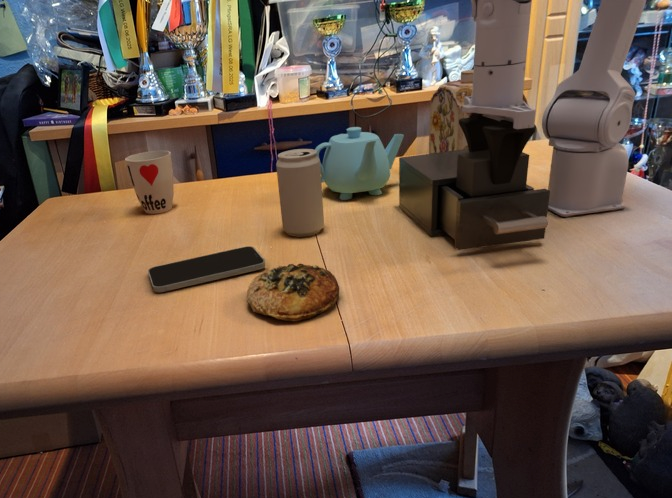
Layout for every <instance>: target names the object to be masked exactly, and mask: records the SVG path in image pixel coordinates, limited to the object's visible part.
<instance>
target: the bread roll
mask: <svg viewBox="0 0 672 498" xmlns="http://www.w3.org/2000/svg"><path fill="white" fill-rule="evenodd" d="M339 295H340V285H339V283H338V280H337V278H336V277H335V275H334V274H333V273H332V272H331V271H330V270H329V269H325V268H323V267H320V266H318V265H316V264H313V265H311V264H304V263H298V264H297V265H295V264H294V263H289V264H287V265H279V266H277V267H273V268H271V269H270V270H267V271H264V272H262V273H260V274H258V275H256V276H255V277H254V278H253V279H252V280H251V282H250V283H249V285H248V289H247V290H246V301H247V303H248V304H249V306H250V307H251V309H252V312H253V313H257V314H259V315H264V316H270V317H272V318H274V319H276V320H281V321H286V322H287V321H288V322H298V321H299V322H300V321H303V320H309V319H310V318H313V317H315V316H316V315H318V314H321V313H323V312H325V311H328V310H331V308H332V307H333V306H334V305H335V304H336V302H338V300H339Z"/></svg>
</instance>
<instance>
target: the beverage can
mask: <svg viewBox="0 0 672 498" xmlns="http://www.w3.org/2000/svg"><path fill="white" fill-rule="evenodd" d="M316 154H317V151H316V150H315V149H313V148H297V149H289V150H286V151H285V150H284V151H282V152H280V153H278V154H277V161H276V163H275V166H276V167H275V169H276V175H277V187H278V197H279V205H280V214H281V216H280V217H281V224H282V225H281V226H282V230H283V231H284V232H285V233H287V234H288V235H289V236H292V237H299V238H301V237H309V236H313V235H316V234H318V233H320V232H321V230H322V229H323V228H324V226H325V215H324V203H323V202H324V201H323V199H324V198H323V185H322V183H321V170H320V162H321V160H320V159H321V158H320V157H319V158H318V157H317V155H316Z"/></svg>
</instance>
